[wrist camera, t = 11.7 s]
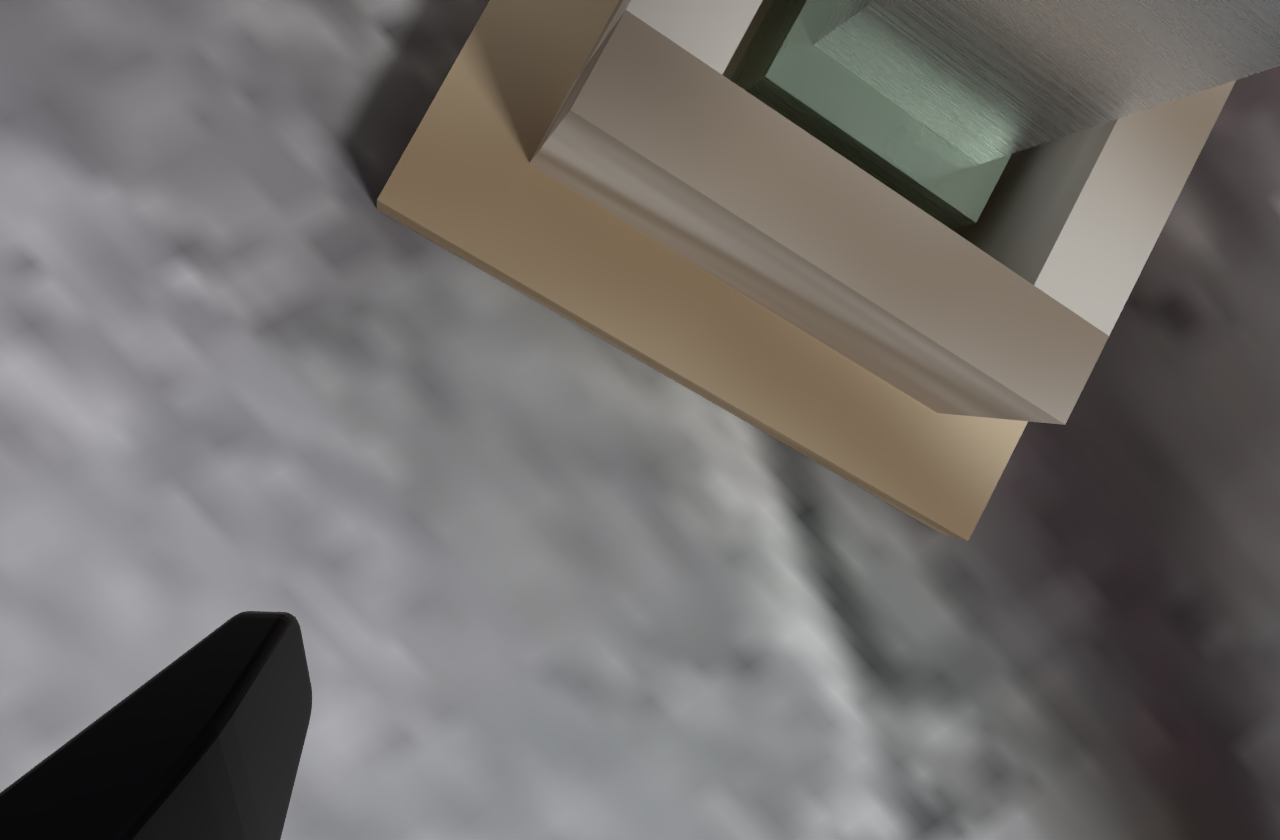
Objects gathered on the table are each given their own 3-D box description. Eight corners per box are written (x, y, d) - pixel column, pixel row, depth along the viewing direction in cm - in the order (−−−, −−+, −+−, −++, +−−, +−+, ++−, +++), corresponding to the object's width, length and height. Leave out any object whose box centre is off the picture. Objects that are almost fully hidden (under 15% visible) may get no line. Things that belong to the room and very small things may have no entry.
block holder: (938, 532, 20) (1100, 580, 15) (376, 209, 17) (377, 154, 12) (1243, -75, 21) (1477, -192, 16) (767, -482, 18) (895, -761, 13)
